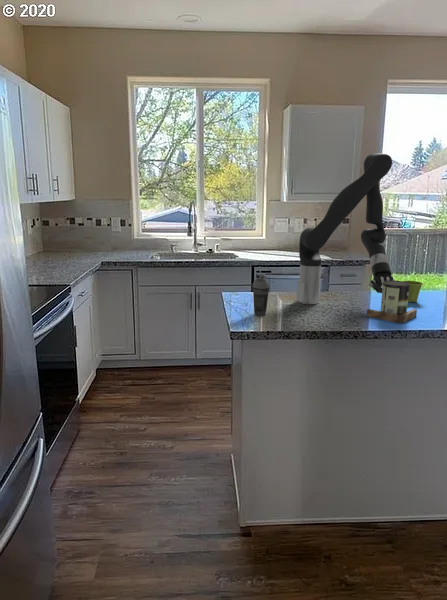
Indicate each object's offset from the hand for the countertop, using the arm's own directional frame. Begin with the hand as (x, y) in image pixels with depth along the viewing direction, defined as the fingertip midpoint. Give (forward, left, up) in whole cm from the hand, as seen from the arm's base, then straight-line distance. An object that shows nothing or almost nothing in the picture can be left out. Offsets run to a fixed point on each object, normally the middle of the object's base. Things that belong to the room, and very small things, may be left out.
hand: (388, 300), depth 190 cm
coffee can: (-2, -5, -5) cm, 8 cm away
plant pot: (+24, +12, -5) cm, 28 cm away
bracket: (-3, -9, -5) cm, 11 cm away
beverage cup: (-52, +15, -5) cm, 54 cm away
